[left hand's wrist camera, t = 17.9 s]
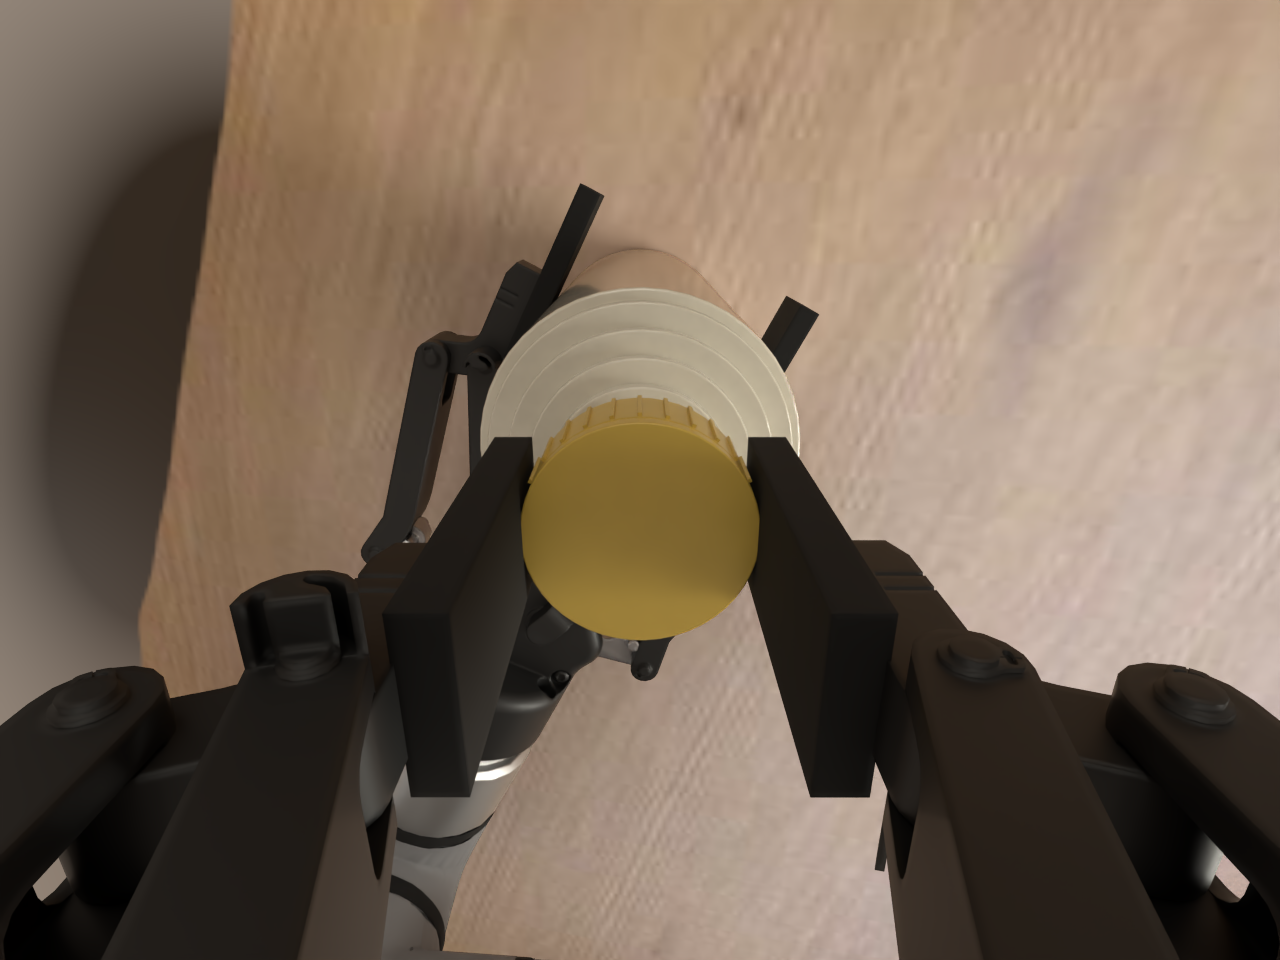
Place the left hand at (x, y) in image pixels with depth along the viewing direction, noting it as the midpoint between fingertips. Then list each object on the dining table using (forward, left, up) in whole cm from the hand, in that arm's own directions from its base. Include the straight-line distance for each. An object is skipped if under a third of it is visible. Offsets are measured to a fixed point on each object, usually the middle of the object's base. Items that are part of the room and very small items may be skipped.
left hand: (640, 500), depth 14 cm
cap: (0, 0, +1) cm, 1 cm away
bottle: (0, 0, -19) cm, 19 cm away
